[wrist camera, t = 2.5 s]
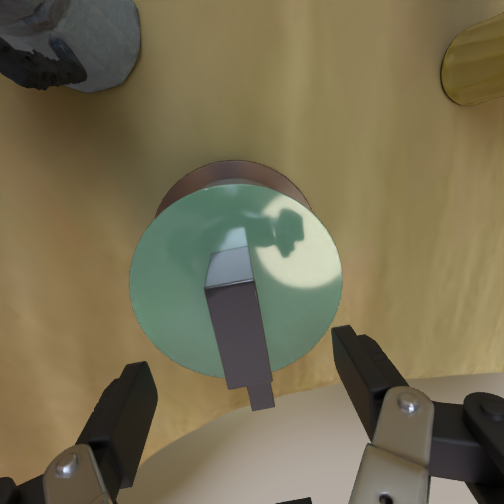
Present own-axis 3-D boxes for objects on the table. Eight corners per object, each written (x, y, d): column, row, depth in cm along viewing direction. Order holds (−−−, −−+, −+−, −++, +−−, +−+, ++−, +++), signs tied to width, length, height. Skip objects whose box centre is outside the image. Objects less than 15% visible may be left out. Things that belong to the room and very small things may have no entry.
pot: (144, 188, 26) (45, 227, 12) (298, 160, 26) (375, 169, 12) (194, 364, 32) (166, 523, 18) (318, 341, 32) (383, 483, 18)
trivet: (176, 328, 31) (175, 331, 31) (131, 176, 26) (129, 177, 26) (322, 302, 32) (324, 304, 31) (307, 145, 26) (309, 145, 26)
